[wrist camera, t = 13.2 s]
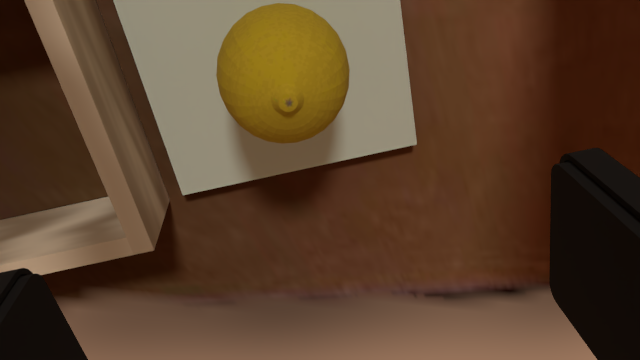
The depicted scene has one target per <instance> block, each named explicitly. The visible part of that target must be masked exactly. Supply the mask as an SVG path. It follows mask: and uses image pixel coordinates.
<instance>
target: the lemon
mask: <svg viewBox="0 0 640 360" xmlns="http://www.w3.org/2000/svg"><path fill="white" fill-rule="evenodd" d="M349 71H350V69H349V63H348V58H347V54H346V50H345V48H344V46H343V44H342V42H341V40H340V38H339V35H338V34H337V32H336V31H335V30H334V29H333V28H332V27H331V26H330V24H329V23H328V22H327V21H326V20H325V19H324V18H322V17H321V16H319V15H318V14H316V13H315V12H313V11H312V10H310V9H307V8H304V7H301V6H298V5H295V4H285V3H275V4H270V5H265V6H261V7H259V8H257V9H254V10H252V11H250V12H248V13H246V14H245V15H244V16H243V17H242V18H241V19H239V20H238V21H237V22H236V23H235V24H234V25H233V26H232V28H231V29H230V31H229V32H228V34H227V35H226V37H225V38H224V40H223V42H222V45H221V48H220V51H219V54H218V57H217V73H216V77H217V82H218V87H219V92H220V96H221V98H222V100H223V102H224V104H225V106H226V108H227V110H228V112H229V114H230V115H231V116H232V117H233V118H234V119H235V121H236V122H237V123H238V124H239V125H240V126H241V127H242V128H244V129H245V130H246V131H248V132H249V133H250V134H252V135H253V136H255V137H258V138H260V139H263V140H265V141H268V142H275V143H281V144H284V143H297V142H300V141H303V140H306V139H309V138H312V137H314V136H315V135H317V134H318V133H320V132H322V131H323V130H325V129H326V128H327V127H328V126H329V125H330V124H331V123H332V122H333V121H334V120H335V118H336V116H337V115H338V113H339V111H340V110H341V108H342V106H343V105H344V101H345V98H346V95H347V92H348V88H349Z"/></svg>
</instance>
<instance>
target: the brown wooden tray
mask: <svg viewBox="0 0 640 360" xmlns="http://www.w3.org/2000/svg"><path fill="white" fill-rule="evenodd" d="M24 1H25V3H26V6H27V8H28V10H29V13H30V15H31V17H32V20H33V22H34V24H35V27H36V29H37V31H38V34H39V36H40V38H41V40H42V43H43V45H44V47H45V50H46V52H47V54H48V57H49V59H50V61H51V64H52V66H53V68H54V71H55V73H56V75H57V78H58V80H59V82H60V85H61V87H62V89H63V92H64V94H65V96H66V99H67V101H68V103H69V106H70V108H71V110H72V113H73V115H74V117H75V120H76V122H77V124H78V126H79V129H80V131H81V133H82V136H83V138H84V140H85V143H86V145H87V147H88V150H89V152H90V154H91V157H92V159H93V161H94V164H95V166H96V168H97V171H98V173H99V175H100V178H101V180H102V182H103V185H104V187H105V189H106V192H107V194H108V196H109V197H105V198H100V199H96V200H91V201H86V202H82V203H77V204H73V205H68V206H63V207H59V208H54V209H50V210H45V211H40V212H36V213H31V214H27V215H22V216H17V217H13V218H8V219H4V220H0V273H1V272H6V271H11V270H15V269H20V268H26V269H28V270H30V271H31V272H32V273H33V274H35V273H36V274H39V275H44V274H48V273H53V272H57V271H62V270H67V269H71V268H76V267H80V266H85V265H90V264H94V263H99V262H103V261H108V260H113V259H117V258H122V257H126V256H131V255H135V254H140V253H145V252H149V251H154V250H155V246H156V243H157V240H158V237H159V233H160V230H161V227H162V224H163V220H164V217H165V214H166V211H167V207H168V204H169V201H170V199H169V197H168V194H167V191H166V189H165V186H164V183H163V180H162V178H161V175H160V172H159V170H158V167H157V164H156V162H155V159H154V156H153V153H152V151H151V148H150V145H149V143H148V140H147V137H146V135H145V132H144V129H143V127H142V124H141V121H140V118H139V116H138V113H137V110H136V108H135V105H134V102H133V100H132V97H131V94H130V91H129V89H128V86H127V83H126V81H125V78H124V75H123V73H122V70H121V67H120V64H119V62H118V59H117V56H116V54H115V51H114V48H113V46H112V43H111V40H110V37H109V35H108V32H107V29H106V27H105V24H104V21H103V19H102V16H101V13H100V11H99V8H98V5H97V2H96V0H24Z"/></svg>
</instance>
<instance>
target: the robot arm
mask: <svg viewBox="0 0 640 360" xmlns="http://www.w3.org/2000/svg"><path fill="white" fill-rule="evenodd" d="M550 288H551V292H552V295H553V297H554V299H555V301H556V303H557V304H558V306H559V307H560V308H561V310H562V311H563V312H564V314H565V315H566V317H567V318H568V319H569V321H570V322H571V323H572V325H573V326H574V328H575V329H576V330H577V332H578V333H579V335H580V336H581V337H582V339H583V340H584V341H585V343H586V344H587V346H588V347H589V348H590V350H591V351H592V353H593V354H594V355H595V356H596V358H597V360H640V178H639V177H638V176H637V175H635V174H634V173H632V172H631V171H630V170H628V169H627V168H626V167H624V166H623V165H622V164H620V163H619V162H618V161H616V160H615V159H614V158H612V157H611V156H610V155H608V154H607V153H605V152H604V151H603V150H601V149H599V148H592V149H587V150H583V151H578V152H573V153H568V154H564V155H563V156H562V157H561V160H560V164H555V165H554V166H553V168H552V172H551V224H550ZM0 360H88V359H87V357H86V355H85V354H84V352H83V350H82V348H81V346H80V345H79V343H78V341H77V339H76V337H75V335H74V334H73V332H72V330H71V328H70V326H69V324H68V323H67V321H66V319H65V317H64V315H63V313H62V311H61V310H60V308H59V306H58V304H57V302H56V300H55V299H54V297H53V295H52V293H51V291H50V289H49V288H48V286H47V284H46V282H45V280H44V279H43V277H42V276H41V275H39V274H36V273H35V274H33V273H32V272H31V271H30V270H28V269H26V268H20V269H15V270H11V271H6V272H1V273H0Z"/></svg>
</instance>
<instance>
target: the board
mask: <svg viewBox="0 0 640 360" xmlns="http://www.w3.org/2000/svg"><path fill="white" fill-rule="evenodd" d="M113 1H114V4H115V7H116V10H117V12H118V15H119V18H120V21H121V24H122V26H123V29H124V32H125V35H126V38H127V40H128V43H129V46H130V49H131V52H132V54H133V57H134V60H135V63H136V66H137V69H138V71H139V74H140V77H141V80H142V83H143V85H144V88H145V91H146V94H147V97H148V99H149V102H150V105H151V108H152V111H153V113H154V116H155V119H156V122H157V125H158V127H159V130H160V133H161V136H162V139H163V142H164V144H165V147H166V150H167V153H168V156H169V158H170V161H171V164H172V167H173V170H174V172H175V175H176V178H177V181H178V184H179V186H180V189H181V192H182V195H187V194H191V193H196V192H201V191H205V190H210V189H214V188H219V187H224V186H228V185H233V184H237V183H242V182H247V181H251V180H256V179H260V178H265V177H270V176H274V175H279V174H283V173H288V172H293V171H297V170H302V169H306V168H311V167H315V166H320V165H325V164H329V163H334V162H338V161H343V160H348V159H352V158H357V157H361V156H366V155H371V154H375V153H380V152H384V151H389V150H394V149H398V148H403V147H407V146H412V145H417V141H416V133H415V124H414V116H413V107H412V98H411V90H410V81H409V73H408V64H407V56H406V47H405V39H404V30H403V22H402V13H401V4H400V0H113ZM275 3H285V4H295V5H298V6H301V7H304V8H307V9H310V10H312V11H313V12H315V13H316V14H318V15H319V16H321V17H322V18H324V19H325V20H326V21H327V22H328V23H329V24H330V26H331V27H332V28H333V29H334V30H335V31H336V32H337V34H338V35H339V38H340V40H341V42H342V44H343V46H344V48H345V50H346V54H347V58H348V63H349V69H350V71H349V88H348V92H347V95H346V98H345V101H344V105H343V106H342V108H341V110H340V111H339V113H338V115H337V116H336V118H335V120H334V121H333V122H332V123H331V124H330V125H329V126H328V127H327V128H326V129H325V130H323V131H322V132H320V133H318V134H317V135H315V136H314V137H312V138H309V139H306V140H303V141H300V142H297V143H284V144H281V143H275V142H268V141H265V140H263V139H260V138H258V137H255V136H253V135H252V134H250V133H249V132H248V131H246V130H245V129H244V128H242V127H241V126H240V125H239V124H238V123H237V122H236V121H235V119H234V118H233V117H232V116H231V115H230V114H229V112H228V110H227V108H226V106H225V104H224V102H223V100H222V98H221V96H220V92H219V87H218V82H217V77H216V73H217V57H218V54H219V51H220V48H221V45H222V42H223V40H224V38H225V37H226V35H227V34H228V32H229V31H230V29H231V28H232V26H233V25H234V24H235V23H236V22H237V21H238V20H239V19H241V18H242V17H243V16H244V15H245V14H246V13H248V12H250V11H252V10H254V9H257V8H259V7H261V6H265V5H270V4H275Z"/></svg>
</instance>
